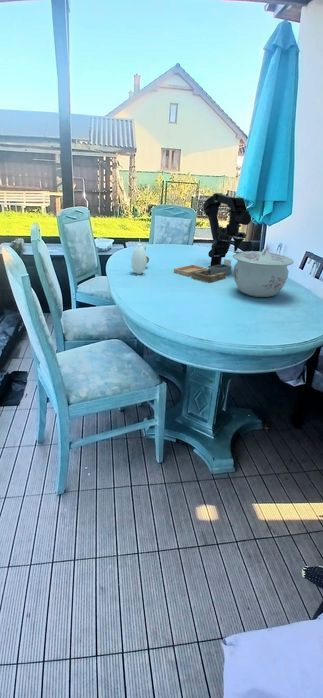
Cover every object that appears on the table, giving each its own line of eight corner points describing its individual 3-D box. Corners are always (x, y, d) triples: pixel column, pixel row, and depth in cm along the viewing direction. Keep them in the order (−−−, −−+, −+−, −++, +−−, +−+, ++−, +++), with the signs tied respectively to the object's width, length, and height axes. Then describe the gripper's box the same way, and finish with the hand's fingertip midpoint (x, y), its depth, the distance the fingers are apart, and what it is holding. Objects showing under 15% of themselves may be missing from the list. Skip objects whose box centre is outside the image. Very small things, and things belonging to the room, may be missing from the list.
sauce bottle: (139, 276, 198) (140, 240, 190) (128, 273, 202) (128, 238, 194) (149, 273, 203) (150, 239, 196) (137, 271, 207) (138, 237, 200)
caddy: (222, 272, 215) (224, 258, 211) (230, 274, 211) (232, 260, 208) (209, 275, 207) (210, 261, 203) (217, 278, 203) (219, 263, 200)
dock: (207, 273, 210) (208, 268, 209) (225, 278, 203) (225, 272, 202) (191, 278, 200) (191, 272, 198) (209, 282, 193) (209, 277, 192)
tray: (192, 268, 220) (192, 264, 219) (206, 271, 214) (206, 268, 213) (173, 272, 208) (174, 268, 208) (188, 276, 203) (188, 272, 202)
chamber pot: (244, 303, 165) (251, 255, 157) (219, 285, 189) (224, 243, 180) (299, 301, 173) (309, 255, 164) (269, 284, 197) (276, 243, 188)
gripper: (231, 220, 214) (227, 248, 220) (211, 221, 201) (208, 251, 208) (248, 222, 207) (244, 251, 214) (229, 224, 194) (226, 255, 201)
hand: (230, 252), depth 209 cm, fingers open, 9 cm apart
